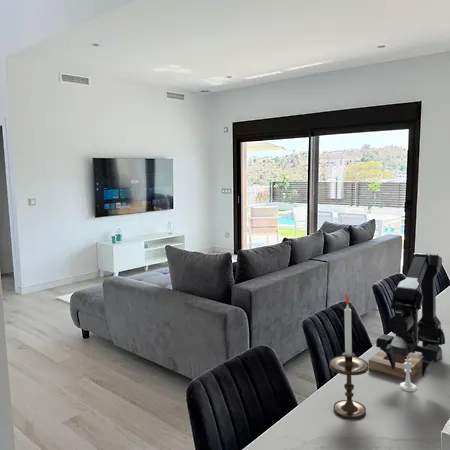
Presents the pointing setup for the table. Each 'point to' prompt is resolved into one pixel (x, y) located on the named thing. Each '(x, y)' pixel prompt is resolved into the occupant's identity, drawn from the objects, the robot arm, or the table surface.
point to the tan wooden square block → (383, 366)
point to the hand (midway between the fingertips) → (408, 372)
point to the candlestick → (349, 373)
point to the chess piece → (407, 378)
